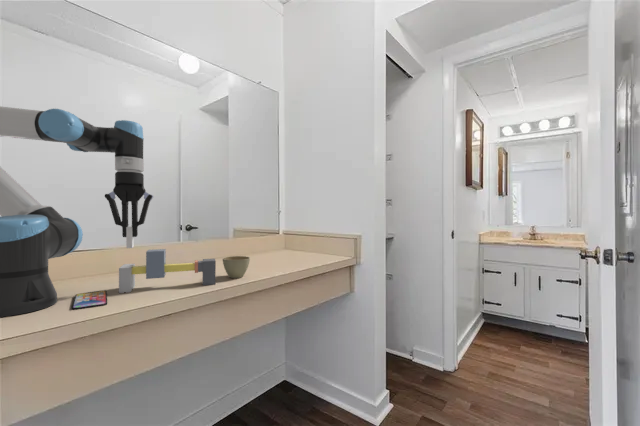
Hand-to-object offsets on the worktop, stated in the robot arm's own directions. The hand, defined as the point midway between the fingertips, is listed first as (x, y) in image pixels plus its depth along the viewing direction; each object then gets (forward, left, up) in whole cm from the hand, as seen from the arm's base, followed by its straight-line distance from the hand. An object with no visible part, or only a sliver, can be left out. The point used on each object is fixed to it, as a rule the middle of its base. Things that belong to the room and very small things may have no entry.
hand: (130, 247), depth 94 cm
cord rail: (+11, 0, -13) cm, 17 cm away
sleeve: (+7, 0, -10) cm, 12 cm away
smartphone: (-8, -9, -14) cm, 18 cm away
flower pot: (+33, +7, -14) cm, 37 cm away
